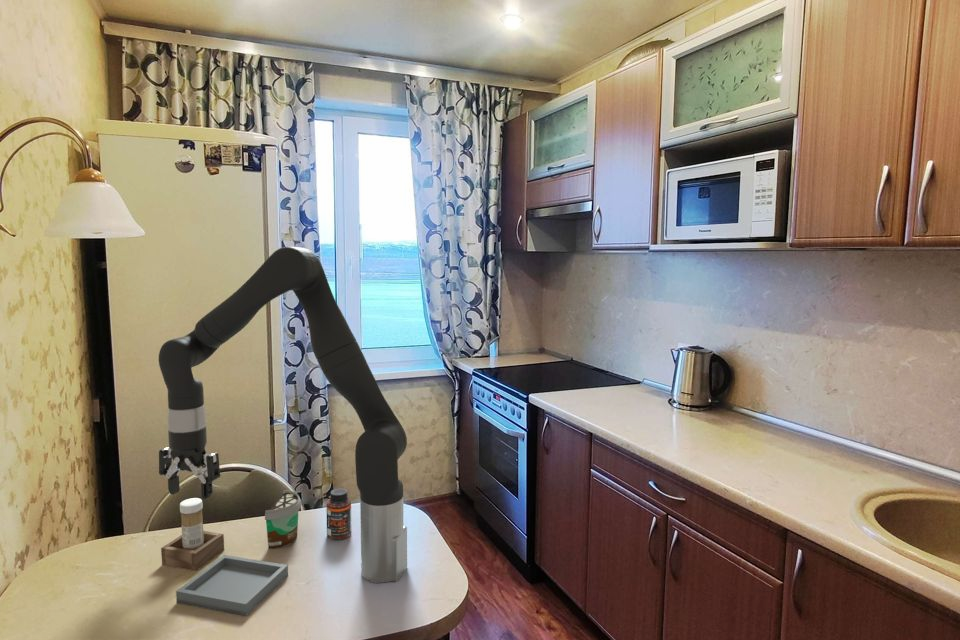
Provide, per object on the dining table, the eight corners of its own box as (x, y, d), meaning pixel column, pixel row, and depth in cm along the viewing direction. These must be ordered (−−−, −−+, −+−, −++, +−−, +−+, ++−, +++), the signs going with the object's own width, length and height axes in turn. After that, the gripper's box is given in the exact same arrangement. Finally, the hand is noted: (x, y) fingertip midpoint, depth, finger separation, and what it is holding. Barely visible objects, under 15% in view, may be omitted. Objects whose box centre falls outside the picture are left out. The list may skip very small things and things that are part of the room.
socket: (224, 550, 132) (223, 533, 131) (196, 570, 123) (195, 553, 122) (191, 544, 134) (191, 528, 133) (162, 564, 125) (161, 548, 125)
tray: (288, 576, 121) (287, 565, 121) (246, 616, 108) (245, 604, 107) (224, 565, 125) (224, 554, 125) (176, 602, 112) (176, 591, 111)
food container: (292, 552, 131) (290, 511, 130) (265, 552, 131) (264, 511, 130) (309, 527, 143) (308, 489, 142) (285, 526, 143) (284, 489, 142)
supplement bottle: (328, 543, 135) (327, 498, 134) (325, 531, 141) (324, 488, 139) (353, 538, 138) (352, 494, 136) (349, 527, 143) (348, 485, 142)
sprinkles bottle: (206, 550, 131) (203, 495, 130) (203, 560, 127) (200, 504, 125) (184, 554, 130) (181, 498, 128) (181, 564, 125) (178, 507, 124)
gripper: (226, 423, 127) (228, 492, 128) (173, 418, 130) (176, 485, 132) (202, 434, 119) (205, 506, 121) (147, 427, 123) (150, 498, 125)
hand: (190, 495), depth 127 cm, fingers open, 8 cm apart
